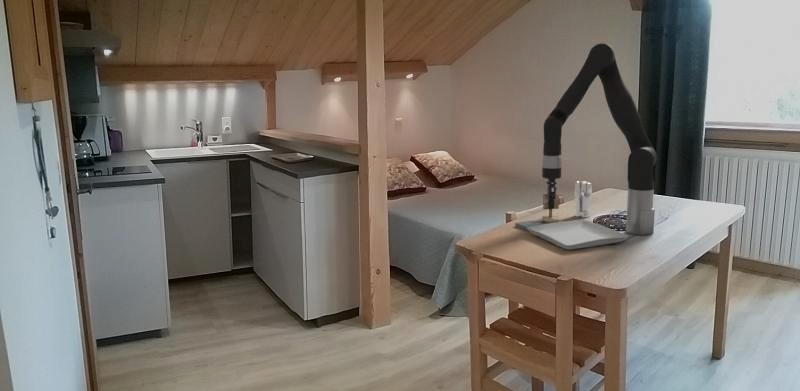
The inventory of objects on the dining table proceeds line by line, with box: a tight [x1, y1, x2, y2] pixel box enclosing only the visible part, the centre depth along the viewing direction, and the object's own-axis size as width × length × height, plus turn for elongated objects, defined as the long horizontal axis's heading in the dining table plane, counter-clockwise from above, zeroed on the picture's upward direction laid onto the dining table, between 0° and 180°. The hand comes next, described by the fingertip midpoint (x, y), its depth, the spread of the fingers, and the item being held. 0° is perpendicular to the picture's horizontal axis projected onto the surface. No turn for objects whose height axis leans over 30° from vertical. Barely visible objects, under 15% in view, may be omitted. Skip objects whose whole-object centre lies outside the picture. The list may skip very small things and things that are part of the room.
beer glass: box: [574, 180, 593, 218], centre depth 270 cm, size 7×7×15 cm
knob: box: [531, 192, 560, 223], centre depth 255 cm, size 6×11×11 cm, turn 97°
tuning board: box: [514, 218, 564, 232], centre depth 255 cm, size 12×18×2 cm
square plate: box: [526, 219, 629, 250], centre depth 236 cm, size 27×27×4 cm
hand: (550, 207), depth 256 cm, fingers closed on knob, 2 cm apart
